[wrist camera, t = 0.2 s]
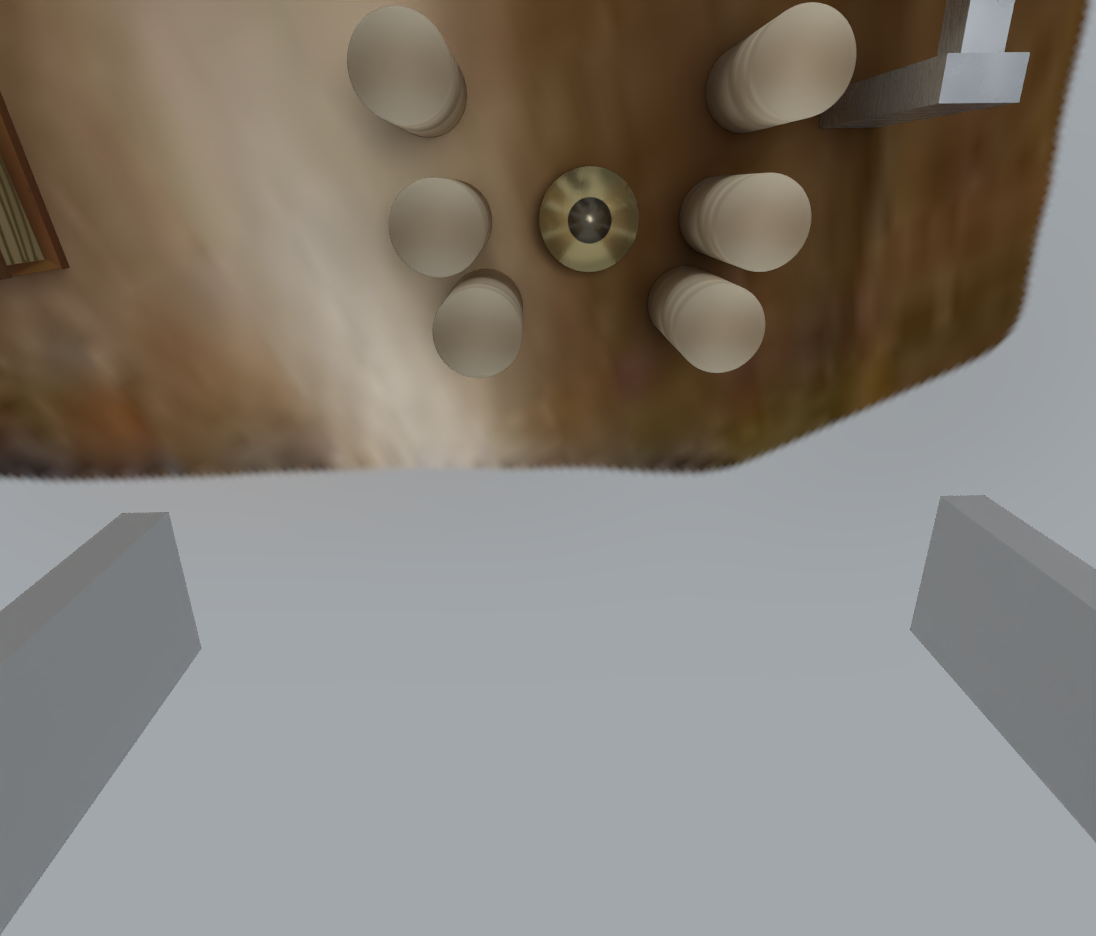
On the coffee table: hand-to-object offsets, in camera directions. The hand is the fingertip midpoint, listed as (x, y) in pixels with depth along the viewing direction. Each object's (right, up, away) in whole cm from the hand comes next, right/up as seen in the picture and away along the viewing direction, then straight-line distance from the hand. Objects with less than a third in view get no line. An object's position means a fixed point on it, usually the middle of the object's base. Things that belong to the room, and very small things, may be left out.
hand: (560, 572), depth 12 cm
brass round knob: (+2, +15, +25) cm, 29 cm away
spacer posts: (+2, +15, +25) cm, 29 cm away
